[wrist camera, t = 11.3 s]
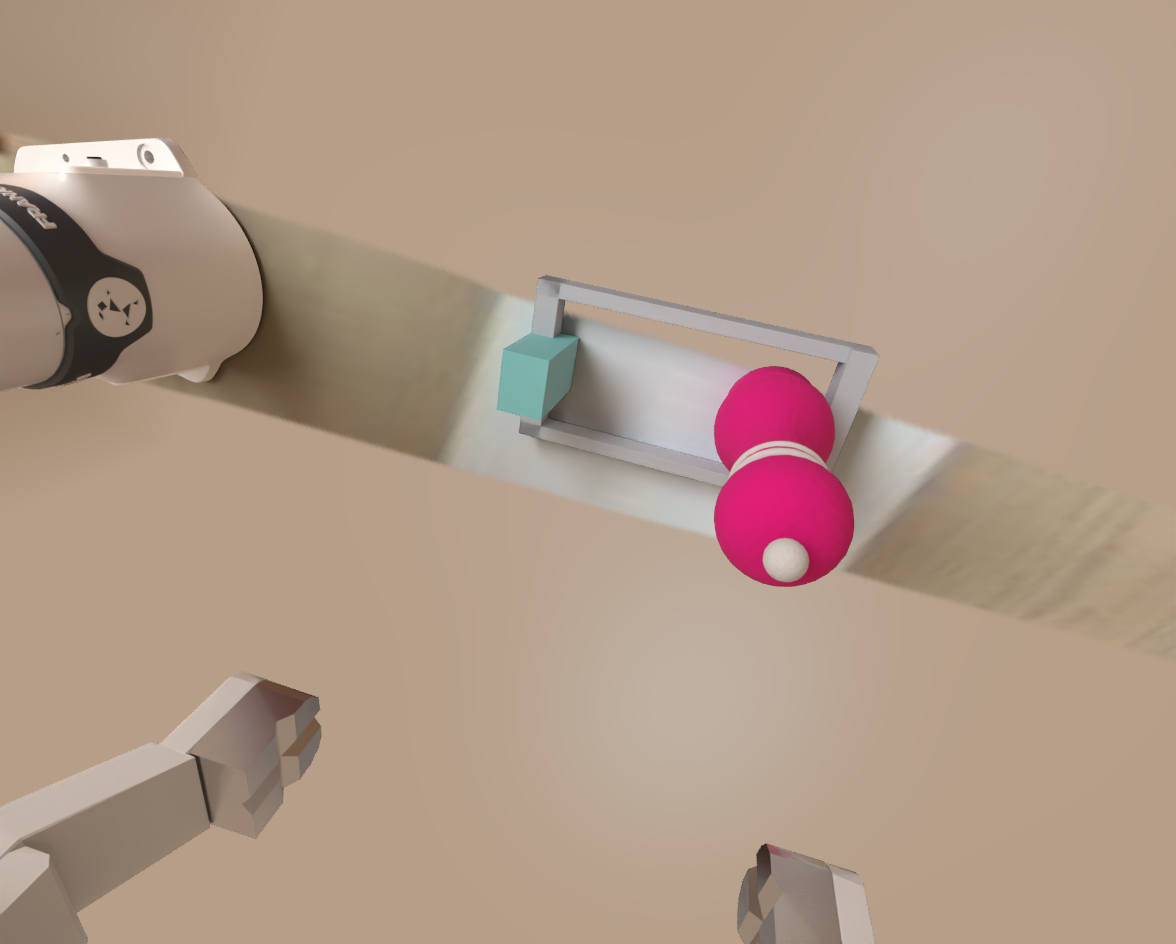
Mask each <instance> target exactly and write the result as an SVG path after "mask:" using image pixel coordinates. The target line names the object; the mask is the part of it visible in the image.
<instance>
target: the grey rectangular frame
mask: <svg viewBox="0 0 1176 944" xmlns="http://www.w3.org/2000/svg"><path fill="white" fill-rule="evenodd" d="M565 300H567V301H572V302H576V303H581V304H585V305H590V306H594V307H598V308H603V309H607V310H612V311H616V312H621V313H625V314H630V315H634V316H638V317H643V318H647V319H651V320H656V321H660V322H665V323H669V324H674V325H678V326H682V327H687V328H691V329H696V330H700V331H705V332H709V333H714V334H718V335H722V336H727V337H731V338H736V339H740V340H744V341H749V342H754V343H758V344H762V345H767V346H771V347H776V348H780V349H784V350H789V351H793V352H798V353H802V354H807V355H811V356H815V357H820V358H824V359H828V360H833V361H837V362H838V365H837V367H836V370H835V373H834V375H833V378H832V380H831V383H830V386H829V388H828V391H827V394H826V396H825V399H826V400H827V402H828V404H829V406H830V408H831V410H832V413H833V417H834V424H835V440H834V445H833V449H832V452H831V454H830V456H829V458H828V460H827V462H826V466H827V467H828V470H829V472H831V473H832V471H833V468H834V466H835V464H836V461H837V459H838V456H839V454H840V451H841V449H842V446H843V444H844V442H845V439H846V437H847V434H848V432H849V429H850V427H851V425H852V422H853V420H854V417H855V415H856V412H857V410H858V408H859V405H860V403H861V400H862V398H863V395H864V393H865V390H866V388H867V386H868V383H869V381H870V378H871V376H872V373H873V371H874V369H875V366H876V364H877V361H878V359H879V355H878V354H877V352H876V351H875V350H874V349H873V348H872V347H870V346H865V345H861V344H856V343H851V342H847V341H843V340H838V339H833V338H829V337H824V336H820V335H815V334H811V333H806V332H802V331H797V330H793V329H788V328H784V327H779V326H774V325H770V324H765V323H761V322H756V321H752V320H747V319H743V318H738V317H734V316H729V315H724V314H720V313H716V312H710V311H706V310H702V309H697V308H693V307H688V306H684V305H679V304H675V303H670V302H665V301H661V300H657V299H652V298H648V297H642V296H638V295H634V294H629V293H625V292H620V291H616V290H611V289H607V288H602V287H597V286H593V285H589V284H584V283H579V282H575V281H570V280H566V279H561V278H557V277H552V276H548V275H546V276H543V277H540V278H538V282H537V291H536V300H535V307H534V315H533V323H532V331H531V333H530V334H529V335H527V336H525V337H523V338H522V339H520V340H518V341H517V342H515V343H513V344H512V345H510V346H508V347H507V348H505V349H503V357H502V367H501V376H500V386H499V396H498V406H497V410H501V411H505V412H509V413H512V414H516V415H520V416H521V420H520V428H519V433H521V434H525V435H529V436H532V437H536V438H540V439H544V440H547V441H551V442H555V443H559V444H563V445H566V446H570V447H574V448H578V449H581V450H585V451H589V452H593V453H597V454H600V455H604V456H608V457H612V458H615V459H619V460H623V461H627V462H630V463H634V464H638V465H642V466H646V467H649V468H653V469H657V470H661V471H664V472H668V473H672V474H676V475H680V476H683V477H687V478H691V479H695V480H698V481H702V482H706V483H710V484H713V485H717V486H721V487H723V485H724V484H725V483H726V482H727V480H728V477H729V474H730V472H729V471H728V469H727V468H726V467H725V465H724V464H723V463H719V462H715V461H711V460H708V459H704V458H700V457H696V456H692V455H688V454H684V453H681V452H677V451H673V450H669V449H665V448H661V447H657V446H654V445H650V444H646V443H642V442H638V441H634V440H630V439H626V438H623V437H619V436H615V435H611V434H607V433H603V432H599V431H596V430H592V429H588V428H584V427H580V426H576V425H572V424H569V423H565V422H561V421H557V420H553V419H549V418H548V415H549V412H550V411H551V410H552V409H553V407H554V406H555V405H556V404H557V403H558V402H559V401H560V400H561V399H562V398H563V397H564V396H565V395H566V394H567V393H568V392H569V391H570V390H571V384H572V378H573V371H574V365H575V359H576V353H577V347H578V341H579V337H576V336H572V335H568V334H563V333H561V326H562V319H563V313H564V306H565Z"/></svg>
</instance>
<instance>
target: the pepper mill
mask: <svg viewBox="0 0 1176 944" xmlns="http://www.w3.org/2000/svg"><path fill="white" fill-rule="evenodd" d="M714 437H715V445H716V449H717V453H718V455H719V457H720V459H721V461H722V462H723V464H724V465H725V467H726V468H727V469H728V471H729V472H730V474H729V477H728V480H727V482H726V483H725V484H724V485H723V487H722V489H721V491H720V494H719V496H718V498H717V502H716V506H715V512H714V523H715V530H716V536H717V539H718V542H719V544H720V546H721V549H722V551H723V552H724V554H725V555H726V557H727V558H728V559H729V561H730V562H731V563H732V564H733V565H734V566H735V567H736V568H737V569H738V570H740V571H741V572H742V573H744V574H745V575H747V576H748V577H750V578H752V579H753V580H756V581H758V582H761V583H763V584H767V585H772V586H784V587H791V586H798V585H803V584H807V583H810V582H813V581H816V580H817V579H819V578H821V577H822V576H825V575H826V574H828V573H829V572H830V571H831V570H833V569H834V568H835V567H836V566H837V565H838V564H839V562H840V561H841V560H842V559H843V558H844V556H845V555H846V553H847V551H848V548H849V546H850V543H851V541H852V538H853V532H854V515H853V508H852V504H851V500H850V498H849V496H848V494H847V492H846V490H845V488H844V487H843V485H842V484H841V482H840V481H839V480H838V478H837V477H835V476H834V475H833V474H832V473H831V472H829V470H828V467H827V466H826V462H827V460H828V458H829V456H830V454H831V452H832V449H833V445H834V440H835V424H834V417H833V413H832V410H831V408H830V406H829V404H828V402H827V400H826V399H825V398H824V396H823V395H822V394H821V393H820V392H819V391H818V390H817V389H816V388H815V387H814V386H812V385H811V383H810V382H809V381H808V380H807V379H806V378H805V377H804V376H802V375H801V374H800V373H798V372H796V371H794V370H791V369H788V368H784V367H777V366H771V367H770V366H769V367H763V368H759V369H756V370H754V371H751V372H749V373H748V374H746V375H745V376H743V377H742V378H741V379H739V380H738V381H737V382H736V383H735V385H734V386H733V387H732V389H731V390H730V392H729V394H728V396H727V398H726V399H725V400H724V401H723V403H722V405H721V407H720V408H719V410H718V413H717V416H716V420H715V425H714Z"/></svg>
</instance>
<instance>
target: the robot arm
mask: <svg viewBox="0 0 1176 944" xmlns="http://www.w3.org/2000/svg"><path fill="white" fill-rule="evenodd" d="M153 156H154V158H153ZM262 304H263V293H262V283H261V277H260V273H259V268H258V265H257V262H256V259H255V256H254V253H253V251H252V248H251V246H250V244H249V242H248V240H247V238H246V236H245V234H244V232H243V231H242V229H241V227H240V226H239V224H238V223H237V221H236V220H235V218H234V217H233V216H232V214H231V213H230V212H229V210H228V209H227V208H226V207H225V206H224V205H223V204H222V202H221V201H220V200H219V199H218V198H217V197H215V196H214V195H213V194H212V193H211V192H210V191H209V190H208V189H207V188H206V187H205V186H204V184H203V183H202V182H201V181H200V180H199V179H198V177H197V175H196V173H195V172H194V170H193V168H192V166H191V164H190V163H189V161H188V159H187V158H186V156H185V154H184V153H183V151H182V150H181V148H180V147H179V146H178V145H177V144H176V143H175V142H174V141H173V140H171V139H168V138H149V139H134V140H133V139H132V140H117V141H100V142H86V143H85V142H84V143H68V144H52V145H36V146H25V147H21V148H19V150H18V152H17V155H16V160H15V166H14V173H0V393H2V392H6V391H10V390H14V389H17V388H21V387H22V388H27V389H43V388H49V387H54V386H55V387H58V386H65V385H70V384H74V383H77V382H80V381H83V380H85V379H87V378H90V377H94V376H95V377H97V378H99V379H101V380H104V381H107V382H110V383H111V384H112V385H115V386H123V385H129V384H134V383H138V382H143V381H148V380H153V379H157V378H162V377H166V376H171V375H176V374H177V375H179V376H181V377H183V378H186V379H188V380H190V381H192V382H195V383H200V382H205V381H209V380H211V379H212V378H213V377H214V375H215V374H216V372H217V371H218V369H219V367H220V365H221V363H222V362H223V361H224V360H225V359H227V358H228V357H230V356H232V355H234V354H236V353H238V352H239V351H241V350H242V349H243V348H245V347H246V346H247V345H248V343H249V342H250V341H251V340H252V338H253V336H254V335H255V333H256V331H257V328H258V326H259V323H260V319H261V314H262ZM319 710H320V705H319V698H318V697H316V696H313V695H310V694H307V693H304V692H301V691H298V690H295V689H292V688H290V687H287V686H284V685H281V684H278V683H275V682H272V681H269V680H267V679H264V678H261V677H258V676H255V675H251V674H249V673H246V672H242V671H240V672H238V673H236V674H235V675H233V676H231V677H229V678H228V679H227V680H226V681H225V682H224V683H223V684H222V685H221V686H220V687H219V688H218V689H217V690H215V692H213V693H212V694H211V695H210V696H209V697H208V698H207V699H206V700H205V701H204V702H203V703H202V704H201V705H200V706H199V707H198V708H197V709H196V710H195V711H194V712H193V713H191V715H189V716H188V717H187V718H186V719H185V720H184V721H183V722H182V723H181V724H180V725H179V726H178V727H177V728H176V729H175V730H174V731H173V732H172V733H171V734H170V735H169V736H167V738H165V739H164V740H163V741H162V742H161V743H160V744H158V743H155V742H150V743H148V744H146V745H143V746H141V747H138V748H136V749H134V750H131V751H129V752H127V753H124V754H122V755H120V756H117V757H115V758H113V759H111V760H108V761H106V762H104V763H101V764H99V765H97V766H94V767H92V768H89V769H87V770H85V771H83V772H80V773H78V774H75V775H73V776H71V777H69V778H66V779H64V780H61V781H59V782H57V783H54V784H52V785H50V786H47V787H45V788H43V789H40V790H38V791H36V792H33V793H31V794H29V795H26V796H24V797H22V798H20V799H17V800H15V801H12V802H10V803H8V804H6V805H3V806H1V807H0V944H87V942H88V937H87V935H86V933H85V931H84V929H83V927H82V925H81V922H80V920H79V918H78V916H77V912H79V911H80V910H82V909H83V908H85V907H87V906H88V905H90V904H91V903H93V902H94V901H96V900H97V899H99V898H101V897H102V896H103V895H105V894H107V893H108V892H110V891H112V890H113V889H115V888H116V887H118V886H119V885H121V884H123V883H124V882H126V881H127V880H129V879H130V878H132V877H134V876H135V875H137V874H138V873H140V872H141V871H143V870H145V869H146V868H148V867H149V866H151V865H152V864H154V863H155V862H157V861H159V860H160V859H162V858H163V857H165V856H166V855H168V854H170V853H171V852H172V851H174V850H176V849H177V848H179V847H181V846H182V845H184V844H185V843H187V842H188V841H190V840H192V839H193V838H194V837H196V836H198V835H199V834H201V833H202V832H204V831H205V830H207V829H209V828H210V824H212V825H215V826H218V827H221V828H224V829H227V830H230V831H233V832H236V833H239V834H242V835H246V836H248V837H251V838H254V839H256V838H257V837H258V835H259V834H260V833H261V831H262V830H263V828H264V827H265V826H266V825H267V823H268V822H269V821H270V819H271V818H272V817H273V815H274V814H275V812H276V811H277V810H278V809H279V807H280V806H281V805H282V803H283V790H284V787H286V786H288V785H290V784H292V783H294V782H296V781H298V780H300V779H301V777H302V776H303V774H304V773H305V771H306V770H307V769H308V767H309V766H310V765H311V763H312V761H313V758H314V756H315V754H316V752H317V750H318V748H319V744H320V739H321V726H320V724H319V723H318V722H317V720H316V719H315V717H314V716H315V715H316V714H317V713H318V712H319ZM756 856H757V866H756V867H753V868H750V869H748V871H747V873H746V875H745V877H744V879H743V881H742V886H741V890H740V894H739V901H738V914H737V915H738V916H737V917H738V920H737V924H738V925H737V930H738V933H739V935H740V937H741V939H742V941H743V943H744V944H876V943H875V939H874V933H873V928H872V923H871V918H870V913H869V908H868V903H867V898H866V894H865V888H864V883H863V881H862V879H861V878H860V876H859V875H858V874H857V873H855V872H853V871H850V870H847V869H844V868H840V867H837V866H834V865H831V864H827V863H825V862H824V861H821V860H818V859H815V858H812V857H808V856H805V855H802V854H798V853H795V852H792V851H789V850H786V849H782V848H779V847H776V846H773V845H769V844H764V845H762V846H761V848H760V849H759V851H758V852H757V854H756Z"/></svg>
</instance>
